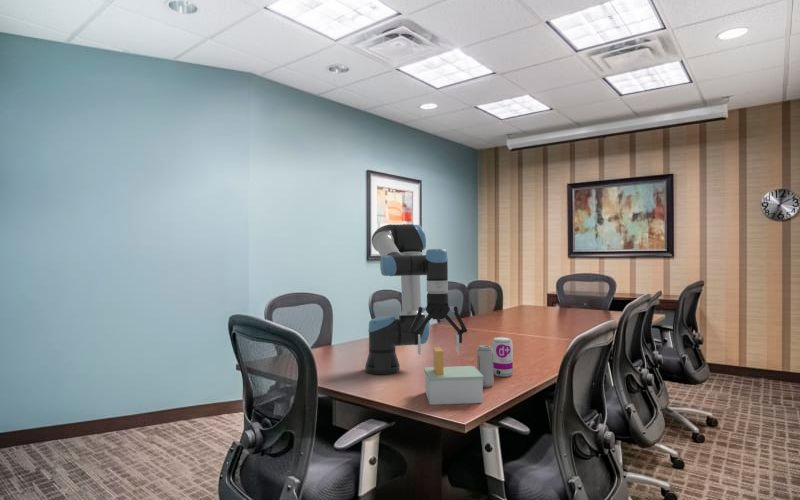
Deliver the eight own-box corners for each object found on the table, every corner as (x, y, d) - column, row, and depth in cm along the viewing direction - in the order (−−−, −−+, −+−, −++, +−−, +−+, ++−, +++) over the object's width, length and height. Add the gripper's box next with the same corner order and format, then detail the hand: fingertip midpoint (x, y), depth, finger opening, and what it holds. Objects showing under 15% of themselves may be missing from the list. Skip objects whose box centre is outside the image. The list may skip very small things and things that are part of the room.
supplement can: (513, 377, 184) (512, 340, 185) (492, 376, 186) (492, 340, 186) (512, 372, 192) (511, 337, 193) (492, 371, 194) (492, 336, 194)
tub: (430, 404, 152) (429, 380, 152) (425, 392, 166) (424, 370, 166) (482, 402, 153) (482, 379, 153) (473, 390, 167) (473, 368, 167)
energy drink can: (476, 383, 176) (475, 345, 177) (491, 383, 177) (490, 344, 177) (479, 388, 170) (479, 348, 171) (495, 387, 171) (495, 347, 171)
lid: (429, 383, 152) (428, 354, 152) (424, 372, 166) (423, 345, 167) (483, 382, 153) (483, 352, 153) (474, 371, 168) (473, 344, 168)
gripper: (402, 294, 155) (403, 356, 155) (474, 292, 157) (475, 354, 156) (401, 292, 163) (402, 351, 162) (470, 291, 164) (471, 350, 164)
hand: (438, 353), depth 159 cm, fingers open, 13 cm apart
